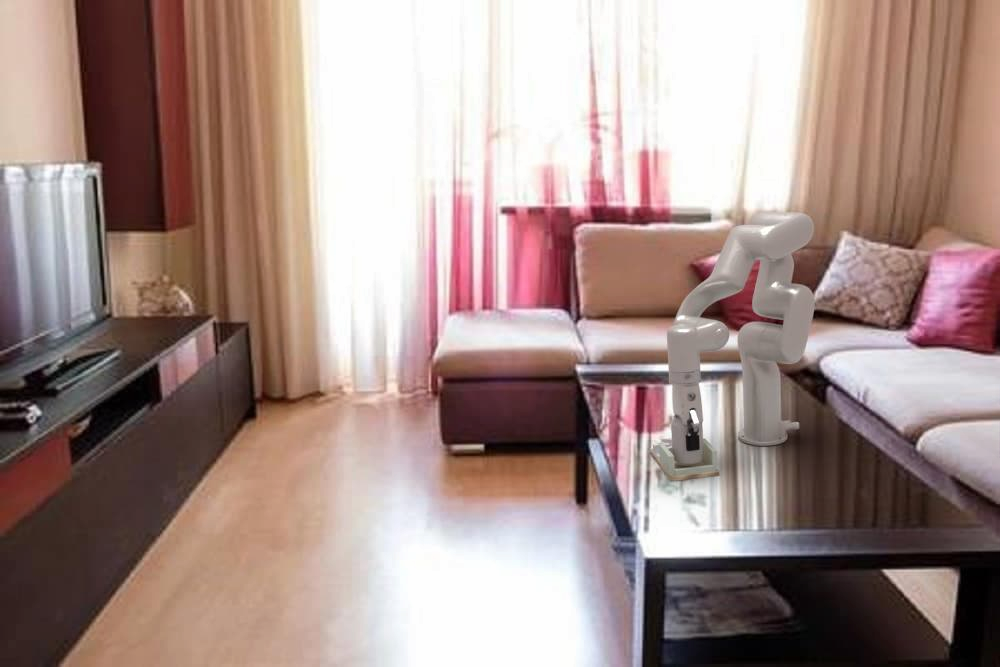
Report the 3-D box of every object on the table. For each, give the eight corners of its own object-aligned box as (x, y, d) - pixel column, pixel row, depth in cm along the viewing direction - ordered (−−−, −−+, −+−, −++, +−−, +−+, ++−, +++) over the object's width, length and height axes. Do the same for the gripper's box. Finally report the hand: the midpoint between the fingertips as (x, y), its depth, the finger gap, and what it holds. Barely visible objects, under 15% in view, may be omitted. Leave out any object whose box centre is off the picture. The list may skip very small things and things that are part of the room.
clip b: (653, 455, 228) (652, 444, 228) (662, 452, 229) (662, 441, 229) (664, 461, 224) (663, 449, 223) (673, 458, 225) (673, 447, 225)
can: (704, 467, 215) (702, 420, 212) (672, 467, 216) (670, 421, 214) (703, 455, 222) (701, 410, 219) (673, 455, 223) (670, 410, 221)
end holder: (705, 457, 224) (705, 438, 223) (718, 471, 215) (718, 451, 214) (659, 462, 223) (658, 444, 222) (670, 477, 214) (669, 457, 213)
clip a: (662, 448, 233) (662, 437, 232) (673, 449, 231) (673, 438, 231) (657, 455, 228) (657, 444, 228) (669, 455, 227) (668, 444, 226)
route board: (694, 447, 234) (694, 444, 233) (719, 475, 215) (719, 471, 214) (649, 453, 233) (649, 449, 232) (671, 481, 214) (671, 477, 213)
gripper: (711, 383, 206) (714, 455, 210) (688, 364, 223) (691, 431, 227) (680, 387, 205) (683, 459, 209) (659, 368, 222) (663, 434, 226)
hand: (687, 444), depth 218 cm, fingers closed on can, 7 cm apart
